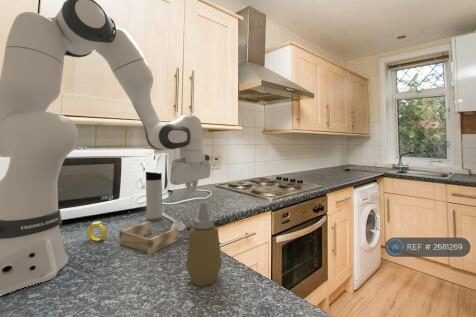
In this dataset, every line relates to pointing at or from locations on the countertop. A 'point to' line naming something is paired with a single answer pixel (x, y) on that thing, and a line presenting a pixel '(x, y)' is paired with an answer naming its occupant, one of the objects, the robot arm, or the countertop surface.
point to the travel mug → (154, 196)
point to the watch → (100, 228)
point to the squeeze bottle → (203, 249)
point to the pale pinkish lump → (178, 225)
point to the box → (148, 245)
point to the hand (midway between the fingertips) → (192, 192)
